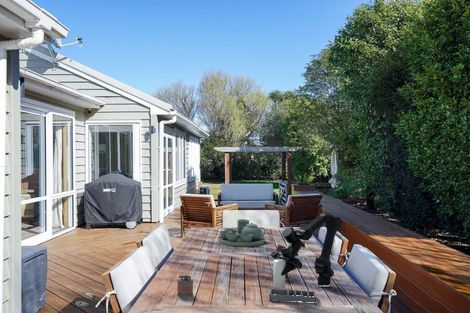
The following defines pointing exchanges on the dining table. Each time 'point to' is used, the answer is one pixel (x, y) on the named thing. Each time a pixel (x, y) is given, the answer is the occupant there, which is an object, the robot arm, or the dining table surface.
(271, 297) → the dish rack
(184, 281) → the lighter
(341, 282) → the dining table surface
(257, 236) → the tea set
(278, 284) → the white smooth rounded part
